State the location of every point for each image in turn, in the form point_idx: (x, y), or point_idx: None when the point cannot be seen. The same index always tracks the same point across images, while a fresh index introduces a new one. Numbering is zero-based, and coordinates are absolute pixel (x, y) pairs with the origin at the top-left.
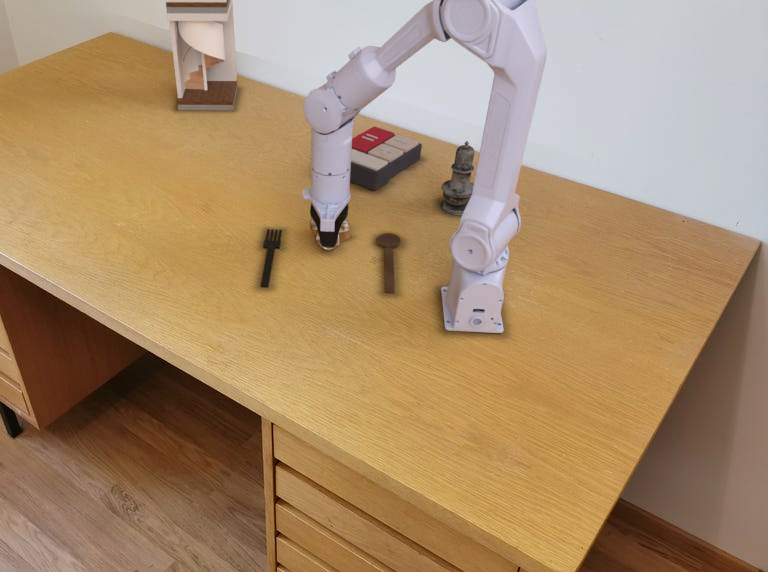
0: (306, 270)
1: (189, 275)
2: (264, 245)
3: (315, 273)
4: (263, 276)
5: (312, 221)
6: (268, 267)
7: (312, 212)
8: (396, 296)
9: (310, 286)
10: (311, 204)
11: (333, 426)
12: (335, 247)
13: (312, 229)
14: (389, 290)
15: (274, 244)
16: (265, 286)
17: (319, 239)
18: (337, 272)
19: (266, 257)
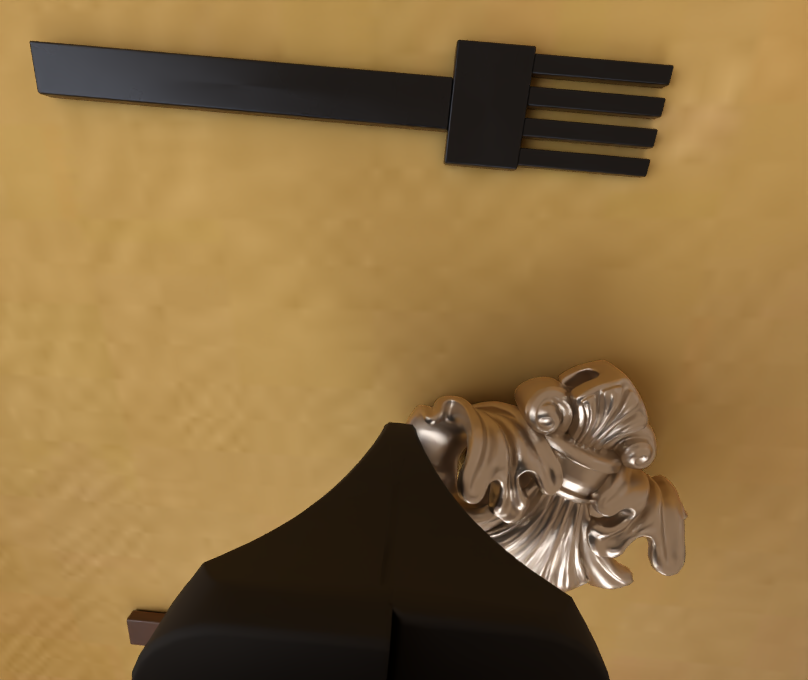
0: (245, 320)
1: None
2: (464, 48)
3: (226, 363)
4: (121, 56)
5: (605, 400)
6: (218, 89)
7: (154, 651)
8: (123, 637)
9: (117, 336)
10: (432, 630)
11: None
12: None
13: (542, 386)
14: (132, 631)
15: (473, 125)
16: (40, 77)
17: (426, 422)
18: (246, 458)
19: (326, 70)
